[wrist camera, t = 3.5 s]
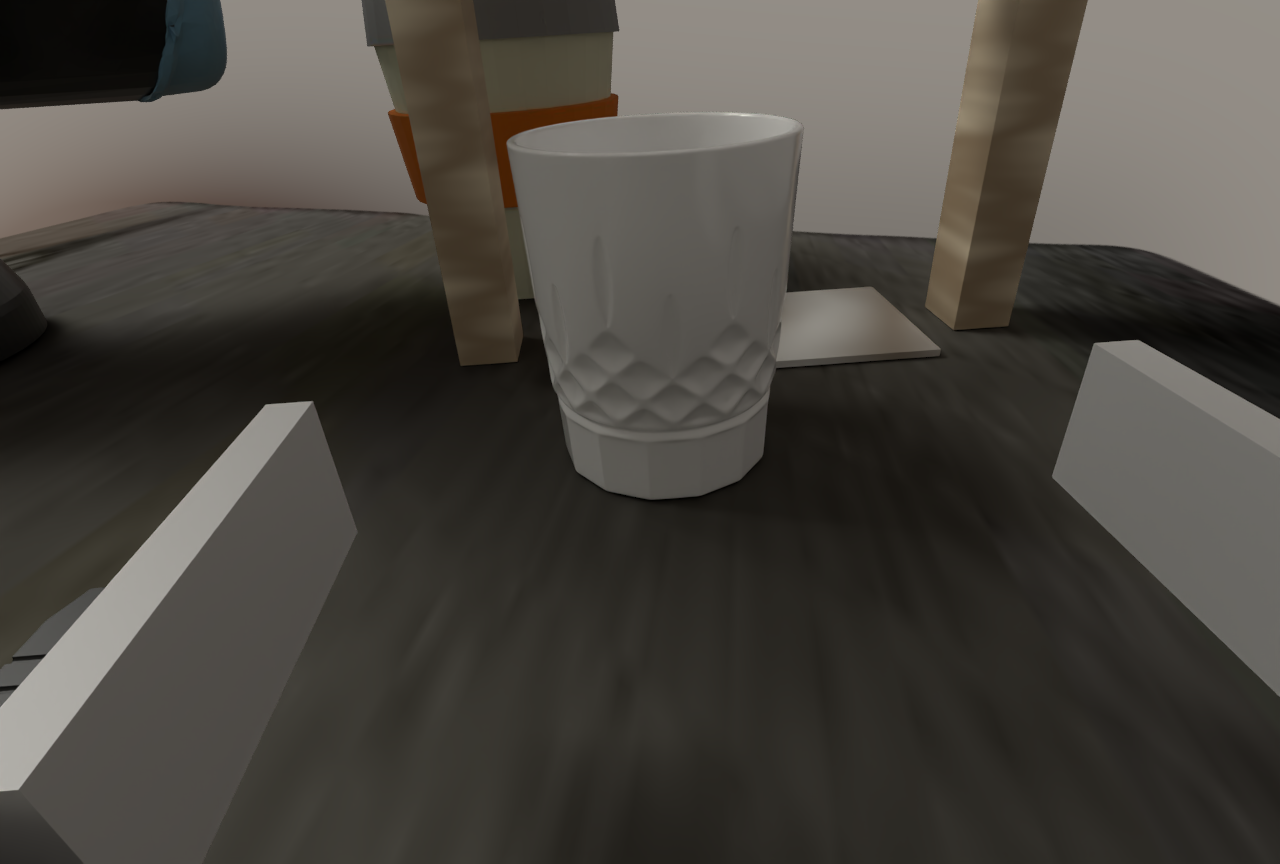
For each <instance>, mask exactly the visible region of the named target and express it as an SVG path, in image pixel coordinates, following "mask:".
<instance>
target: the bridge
mask: <svg viewBox="0 0 1280 864" xmlns="http://www.w3.org/2000/svg"><path fill="white" fill-rule="evenodd" d="M1087 1H1088V0H978V5H977V10H976V16H975V22H974V28H973V33H972V40H971V45H970V51H969V56H968V62H967V68H966V74H965V80H964V85H963V91H962V97H961V103H960V108H959V114H958V120H957V125H956V132H955V137H954V143H953V149H952V154H951V160H950V166H949V172H948V178H947V183H946V189H945V195H944V200H943V207H942V212H941V218H940V223H939V229H938V235H937V241H936V246H935V252H934V258H933V264H932V269H931V275H930V281H929V287H928V293H927V298H926V304H925V307H926V308H927V309H928V310H930V311H931V312H932V313H933V314H934V315H936V316H937V317H938V318H939V319H941V320H942V321H943V322H944V323H945V324H947V325H948V326H949V327H950V328H951V329H953V330H962V329H976V328H990V327H1003V326H1008V325H1009V321H1010V317H1011V313H1012V309H1013V305H1014V301H1015V296H1016V292H1017V288H1018V284H1019V280H1020V276H1021V272H1022V268H1023V264H1024V260H1025V255H1026V251H1027V247H1028V243H1029V239H1030V235H1031V231H1032V227H1033V222H1034V218H1035V214H1036V210H1037V206H1038V202H1039V198H1040V194H1041V190H1042V185H1043V181H1044V177H1045V173H1046V169H1047V165H1048V161H1049V157H1050V153H1051V149H1052V144H1053V141H1054V136H1055V132H1056V128H1057V124H1058V120H1059V116H1060V112H1061V108H1062V104H1063V100H1064V95H1065V91H1066V87H1067V83H1068V79H1069V75H1070V71H1071V66H1072V63H1073V58H1074V54H1075V50H1076V46H1077V42H1078V38H1079V34H1080V30H1081V26H1082V21H1083V17H1084V13H1085V9H1086V5H1087ZM385 3H386V8H387V13H388V17H389V22H390V27H391V32H392V37H393V42H394V46H395V51H396V56H397V61H398V66H399V71H400V76H401V80H402V85H403V90H404V95H405V100H406V105H407V109H408V114H409V119H410V124H411V129H412V134H413V138H414V143H415V148H416V153H417V158H418V163H419V167H420V172H421V177H422V182H423V187H424V192H425V197H426V201H427V206H428V211H429V216H430V221H431V226H432V230H433V235H434V240H435V245H436V250H437V255H438V259H439V264H440V269H441V274H442V279H443V284H444V289H445V293H446V298H447V303H448V308H449V313H450V318H451V322H452V327H453V332H454V337H455V342H456V347H457V351H458V356H459V361H460V366H466V365H480V364H494V363H508V362H518V357H519V353H520V348H521V344H522V339H523V329H522V323H521V316H520V309H519V303H518V296H517V289H516V283H515V276H514V269H513V263H512V256H511V249H510V243H509V236H508V229H507V223H506V216H505V210H504V203H503V196H502V190H501V183H500V176H499V170H498V163H497V156H496V150H495V143H494V136H493V130H492V123H491V116H490V110H489V103H488V96H487V90H486V83H485V76H484V70H483V63H482V56H481V50H480V43H479V36H478V30H477V23H476V16H475V10H474V3H473V0H385ZM940 352H941V349H940V348H939V347H938V346H937V345H936V344H935V343H933V342H932V341H931V340H930V339H929V338H928V337H927V336H926V335H925V334H924V333H922V332H921V331H920V330H919V329H918V328H917V327H916V326H915V325H914V324H913V323H911V322H910V321H909V320H908V319H907V318H906V317H905V316H904V315H903V314H902V313H900V312H899V311H898V310H897V309H896V308H895V307H894V306H893V305H892V304H891V303H889V302H888V301H887V300H886V299H885V298H884V297H883V296H882V295H881V294H880V293H878V292H877V291H876V290H875V289H874V288H873V287H859V288H845V289H830V290H816V291H802V292H788V293H786V296H785V301H784V306H783V311H782V327H781V335H780V342H779V348H778V353H777V359H776V368H783V367H797V366H810V365H824V364H838V363H851V362H865V361H878V360H892V359H905V358H919V357H933V356H940Z"/></svg>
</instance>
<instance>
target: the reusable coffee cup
mask: <svg viewBox="0 0 1280 864" xmlns="http://www.w3.org/2000/svg"><path fill="white" fill-rule="evenodd" d="M473 3H474V10H475V16H476V23H477V30H478V36H479V43H480V50H481V56H482V63H483V70H484V76H485V83H486V90H487V96H488V103H489V110H490V116H491V123H492V130H493V136H494V143H495V150H496V156H497V163H498V170H499V176H500V183H501V190H502V196H503V203H504V210H505V216H506V223H507V229H508V236H509V243H510V249H511V256H512V263H513V269H514V276H515V283H516V289H517V296H518V299H530V298H534V294H533V288H532V282H531V277H530V271H529V266H528V260H527V254H526V249H525V243H524V238H523V232H522V227H521V221H520V215H519V210H518V204H517V199H516V193H515V188H514V182H513V177H512V172H511V166H510V161H509V156H508V150H507V145H506V143H507V140H508V139H509V138H511V137H512V136H514V135H516V134H518V133H521V132H524V131H527V130H531V129H534V128H539V127H543V126H548V125H554V124H559V123H565V122H572V121H579V120H587V119H595V118H605V117H615V116H617V111H618V109H617V108H618V95H616V94H612V93H611V72H612V49H613V48H612V47H613V32H614V31H619V26H618V19H617V13H616V6H615V0H473ZM362 7H363V15H364V22H365V30H366V38H367V46H374V47H375V50H376V53H377V56H378V59H379V62H380V65H381V68H382V71H383V74H384V77H385V80H386V83H387V86H388V89H389V92H390V95H391V98H392V101H393V104H394V107H395V109H394V110H391V111H389V112H388V115H389V118H390V121H391V123H392V126H393V130H394V133H395V135H396V138H397V141H398V144H399V147H400V150H401V153H402V156H403V159H404V162H405V165H406V168H407V171H408V174H409V176H410V179H411V182H412V185H413V188H414V191H415V194H416V197H417V199H418V200H419V201H420V202H422V203H425V204H427V201H426V197H425V192H424V187H423V182H422V177H421V172H420V167H419V163H418V158H417V153H416V148H415V143H414V138H413V134H412V129H411V124H410V119H409V114H408V109H407V105H406V100H405V95H404V90H403V85H402V80H401V76H400V71H399V66H398V61H397V56H396V51H395V46H394V42H393V37H392V32H391V27H390V22H389V17H388V13H387V8H386V3H385V0H362Z"/></svg>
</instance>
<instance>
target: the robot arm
mask: <svg viewBox="0 0 1280 864" xmlns="http://www.w3.org/2000/svg"><path fill="white" fill-rule="evenodd" d="M226 63H227V47H226V36H225V28H224V21H223V14H222V8H221V2H220V0H0V109H12V108H28V107H44V106H59V105H75V104H91V103H106V102H122V101H140V102H152V101H155V100H157V99H159V98H161V97H162V96H166V95H174V94H181V93H189V92H197V91H202V90H206V89H209V88H211V87H212V86H214V85H216V84H217V83H218V81H219V80H220V79H221V77H222V76H223V74H224V71H225V68H226ZM46 327H47V321H46V319H45V317H44V315H43V313H42V311H41V309H40V308H39V306H38V304H37V302H36V300H35V298H34V296H33V294H32V293H31V291H30V289H29V287H28V286H27V285H26V283H25V282H24V281H23V280H22V279H21V278H20V277H19V276H18V275H17V274H16V273H15V272H14V271H13V270H12V269H11V268H10V267H9V266H8V265H7V264H6V263H5V262H4V261H3V260H2V259H1V258H0V361H2V360H4V359H6V358H8V357H10V356H12V355H14V354H16V353H17V352H19V351H21V350H22V349H24V348H26V347H27V346H29V345H30V344H31V343H33V342H34V341H35V340H37V339H38V338H39V337H40V336H41V335H42V334H43V333H44V331H45V330H46ZM1052 478H1053V479H1054V480H1055V481H1056V482H1057V483H1059V484H1060V485H1061V486H1062V487H1063V488H1064V489H1065V490H1066V491H1067V492H1068V493H1069V494H1070V495H1071V496H1072V497H1073V498H1074V499H1075V500H1076V501H1077V502H1078V503H1079V504H1080V505H1081V506H1082V507H1083V508H1084V509H1085V510H1087V511H1088V512H1089V513H1090V514H1091V515H1092V516H1093V517H1094V518H1095V519H1096V520H1097V521H1098V522H1099V523H1100V524H1101V525H1102V526H1103V527H1104V528H1105V529H1106V530H1107V531H1108V532H1109V533H1110V534H1111V535H1112V536H1113V537H1115V538H1116V539H1117V540H1118V541H1119V542H1120V543H1121V544H1122V545H1123V546H1124V547H1125V548H1126V549H1127V550H1128V551H1129V552H1130V553H1131V554H1132V555H1133V556H1134V557H1135V558H1136V559H1137V560H1138V561H1139V562H1140V563H1141V564H1143V565H1144V566H1145V567H1146V568H1147V569H1148V570H1149V571H1150V572H1151V573H1152V574H1153V575H1154V576H1155V577H1156V578H1157V579H1158V580H1159V581H1160V582H1161V583H1162V584H1163V585H1164V586H1165V587H1166V588H1167V589H1168V590H1169V591H1171V592H1172V593H1173V594H1174V595H1175V596H1176V597H1177V598H1178V599H1179V600H1180V601H1181V602H1182V603H1183V604H1184V605H1185V606H1186V607H1187V608H1188V609H1189V610H1190V611H1191V612H1192V613H1193V614H1194V615H1195V616H1196V617H1197V618H1199V619H1200V620H1201V621H1202V622H1203V623H1204V624H1205V625H1206V626H1207V627H1208V628H1209V629H1210V630H1211V631H1212V632H1213V633H1214V634H1215V635H1216V636H1217V637H1218V638H1219V639H1220V640H1221V641H1222V642H1223V643H1224V644H1225V645H1227V646H1228V647H1229V648H1230V649H1231V650H1232V651H1233V652H1234V653H1235V654H1236V655H1237V656H1238V657H1239V658H1240V659H1241V660H1242V661H1243V662H1244V663H1245V664H1246V665H1247V666H1248V667H1249V668H1250V669H1251V670H1252V671H1253V672H1255V673H1256V674H1257V675H1258V676H1259V677H1260V678H1261V679H1262V680H1263V681H1264V682H1265V683H1266V684H1267V685H1268V686H1269V687H1270V688H1271V689H1272V690H1273V691H1274V692H1275V693H1276V694H1277V695H1278V696H1279V697H1280V419H1278V418H1277V417H1275V416H1273V415H1271V414H1269V413H1268V412H1266V411H1264V410H1262V409H1261V408H1259V407H1257V406H1255V405H1253V404H1252V403H1250V402H1248V401H1246V400H1244V399H1243V398H1241V397H1239V396H1237V395H1236V394H1234V393H1232V392H1230V391H1228V390H1227V389H1225V388H1223V387H1221V386H1220V385H1218V384H1216V383H1214V382H1212V381H1211V380H1209V379H1207V378H1205V377H1203V376H1202V375H1200V374H1198V373H1196V372H1195V371H1193V370H1191V369H1189V368H1187V367H1186V366H1184V365H1182V364H1180V363H1179V362H1177V361H1175V360H1173V359H1171V358H1170V357H1168V356H1166V355H1164V354H1162V353H1161V352H1159V351H1157V350H1155V349H1154V348H1152V347H1150V346H1148V345H1146V344H1145V343H1143V342H1141V341H1139V340H1129V341H1116V342H1102V343H1094V345H1093V348H1092V351H1091V354H1090V357H1089V361H1088V364H1087V367H1086V370H1085V373H1084V376H1083V380H1082V383H1081V386H1080V389H1079V392H1078V395H1077V399H1076V402H1075V405H1074V408H1073V411H1072V415H1071V418H1070V421H1069V424H1068V427H1067V430H1066V434H1065V437H1064V440H1063V443H1062V446H1061V449H1060V453H1059V456H1058V459H1057V462H1056V465H1055V468H1054V472H1053V475H1052ZM356 534H357V529H356V526H355V523H354V520H353V517H352V514H351V511H350V508H349V505H348V502H347V500H346V497H345V494H344V491H343V488H342V485H341V482H340V479H339V476H338V473H337V470H336V467H335V464H334V461H333V458H332V455H331V452H330V450H329V447H328V444H327V441H326V438H325V435H324V432H323V429H322V426H321V423H320V420H319V417H318V414H317V411H316V408H315V405H314V402H313V401H307V402H294V403H280V404H267V405H265V406H264V407H263V409H262V410H261V411H260V412H259V413H258V414H257V415H256V416H255V418H254V419H253V420H252V421H251V422H250V423H249V424H248V426H247V427H246V428H245V429H244V430H243V431H242V432H241V434H240V435H239V436H238V437H237V438H236V439H235V440H234V442H233V443H232V444H231V445H230V446H229V447H228V448H227V450H226V451H225V452H224V453H223V454H222V455H221V456H220V458H219V459H218V460H217V461H216V462H215V463H214V464H213V465H212V467H211V468H210V469H209V470H208V471H207V472H206V473H205V475H204V476H203V477H202V478H201V479H200V480H199V481H198V483H197V484H196V485H195V486H194V487H193V488H192V489H191V491H190V492H189V493H188V494H187V495H186V496H185V497H184V499H183V500H182V501H181V502H180V503H179V504H178V505H177V506H176V508H175V509H174V510H173V511H172V512H171V513H170V514H169V516H168V517H167V518H166V519H165V520H164V521H163V522H162V524H161V525H160V526H159V527H158V528H157V529H156V530H155V532H154V533H153V534H152V535H151V536H150V537H149V538H148V540H147V541H146V542H145V543H144V544H143V545H142V546H141V548H140V549H139V550H138V551H137V552H136V553H135V554H134V555H133V557H132V558H131V559H130V560H129V561H128V562H127V563H126V565H125V566H124V567H123V568H122V569H121V570H120V571H119V573H118V574H117V575H116V576H115V577H114V578H113V579H112V581H111V582H110V583H109V584H108V585H107V586H106V587H105V588H93V589H90V590H88V591H87V592H86V593H84V594H83V595H81V596H80V597H79V598H77V599H76V600H74V601H73V602H72V603H70V604H69V605H67V606H66V607H64V608H63V609H62V610H60V611H59V612H57V613H56V614H55V615H53V616H52V617H50V618H49V619H48V620H46V621H45V622H44V623H43V624H42V625H41V627H40V628H39V629H38V630H37V631H36V632H35V633H34V634H33V635H32V636H31V637H30V638H29V639H28V641H27V642H26V643H25V644H24V645H23V646H22V647H21V648H20V649H19V650H18V651H17V652H16V653H15V654H14V656H13V657H12V658H13V662H12V663H11V664H5V665H4V666H3V667H2V668H1V670H0V864H202V863H203V860H204V858H205V856H206V854H207V852H208V850H209V848H210V846H211V843H212V841H213V839H214V837H215V835H216V833H217V831H218V828H219V826H220V824H221V822H222V820H223V818H224V816H225V814H226V811H227V809H228V807H229V805H230V803H231V801H232V799H233V797H234V794H235V792H236V790H237V788H238V786H239V784H240V782H241V779H242V777H243V775H244V773H245V771H246V769H247V767H248V765H249V762H250V760H251V758H252V756H253V754H254V752H255V750H256V748H257V745H258V743H259V741H260V739H261V737H262V735H263V733H264V730H265V728H266V726H267V724H268V722H269V720H270V718H271V716H272V713H273V711H274V709H275V707H276V705H277V703H278V701H279V699H280V696H281V694H282V692H283V690H284V688H285V686H286V684H287V681H288V679H289V677H290V675H291V673H292V671H293V669H294V667H295V664H296V662H297V660H298V658H299V656H300V654H301V652H302V650H303V647H304V645H305V643H306V641H307V639H308V637H309V635H310V632H311V630H312V628H313V626H314V624H315V622H316V620H317V618H318V615H319V613H320V611H321V609H322V607H323V605H324V603H325V601H326V598H327V596H328V594H329V592H330V590H331V588H332V586H333V583H334V581H335V579H336V577H337V575H338V573H339V571H340V569H341V566H342V564H343V562H344V560H345V558H346V556H347V554H348V552H349V549H350V547H351V545H352V543H353V541H354V539H355V537H356Z"/></svg>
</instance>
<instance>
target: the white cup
mask: <svg viewBox="0 0 1280 864" xmlns="http://www.w3.org/2000/svg"><path fill="white" fill-rule="evenodd" d="M803 130H804V127H803V125H802V123H800V122H799V121H797V120H794V119H791V118H787V117H782V116H776V115H767V114H757V113H736V112H683V113H682V112H681V113H657V114H641V115H627V116H615V117H605V118H595V119H587V120H579V121H572V122H565V123H559V124H554V125H548V126H543V127H539V128H534V129H531V130H527V131H524V132H521V133H518V134H516V135H514V136H512V137H511V138H509V139H508V140H507V143H506V145H507V150H508V156H509V161H510V166H511V172H512V177H513V182H514V188H515V193H516V199H517V204H518V210H519V215H520V221H521V227H522V232H523V238H524V243H525V249H526V254H527V260H528V266H529V271H530V277H531V282H532V288H533V294H534V299H535V304H536V307H537V310H538V314H539V319H540V326H541V332H542V337H543V342H544V347H545V352H546V355H547V359H548V364H549V371H550V376H551V381H552V385H553V388H554V390H555V392H556V393H557V395H558V400H559V406H560V412H561V418H562V424H563V430H564V435H565V441H566V446H567V449H568V451H569V454H570V457H571V459H572V462H573V465H574V467H575V470H576V471H577V472H578V473H579V474H581V475H582V476H584V477H585V478H587V479H588V480H590V481H592V482H593V483H595V484H596V485H598V486H599V487H601V488H602V489H604V490H606V491H609V492H614V493H618V494H623V495H628V496H633V497H638V498H643V499H648V500H658V499H672V498H684V497H696V496H701V495H704V494H707V493H709V492H712V491H715V490H717V489H720V488H722V487H725V486H727V485H730V484H732V483H735V482H737V481H739V480H741V479H742V478H743V477H744V476H745V475H746V474H747V473H748V471H749V470H750V469H751V468H752V467H753V466H754V465H755V464H756V463H757V462H758V461H759V460H760V459H761V458H762V456H763V451H764V441H765V430H766V419H767V409H768V400H769V395H770V385H771V382H772V379H773V377H774V375H775V372H776V359H777V353H778V348H779V342H780V335H781V327H782V311H783V306H784V301H785V296H786V290H787V283H788V271H789V261H790V251H791V241H792V232H793V222H794V212H795V202H796V194H797V184H798V174H799V166H800V157H801V148H802V139H803Z"/></svg>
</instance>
